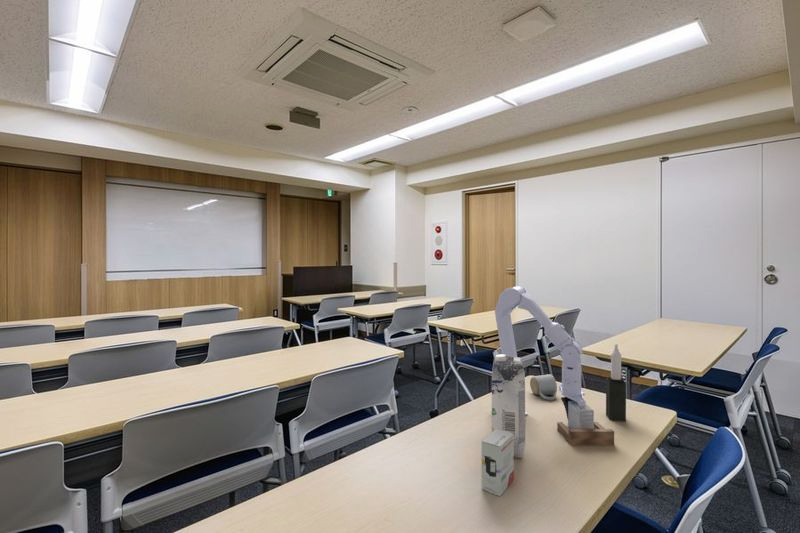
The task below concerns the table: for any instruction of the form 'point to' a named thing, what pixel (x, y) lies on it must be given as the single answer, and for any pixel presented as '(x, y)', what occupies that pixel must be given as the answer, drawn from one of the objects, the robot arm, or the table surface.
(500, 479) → the ink box
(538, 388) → the ceramic mug
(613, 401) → the candle
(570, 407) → the medicine box
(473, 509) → the table surface
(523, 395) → the juice carton
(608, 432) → the holder
